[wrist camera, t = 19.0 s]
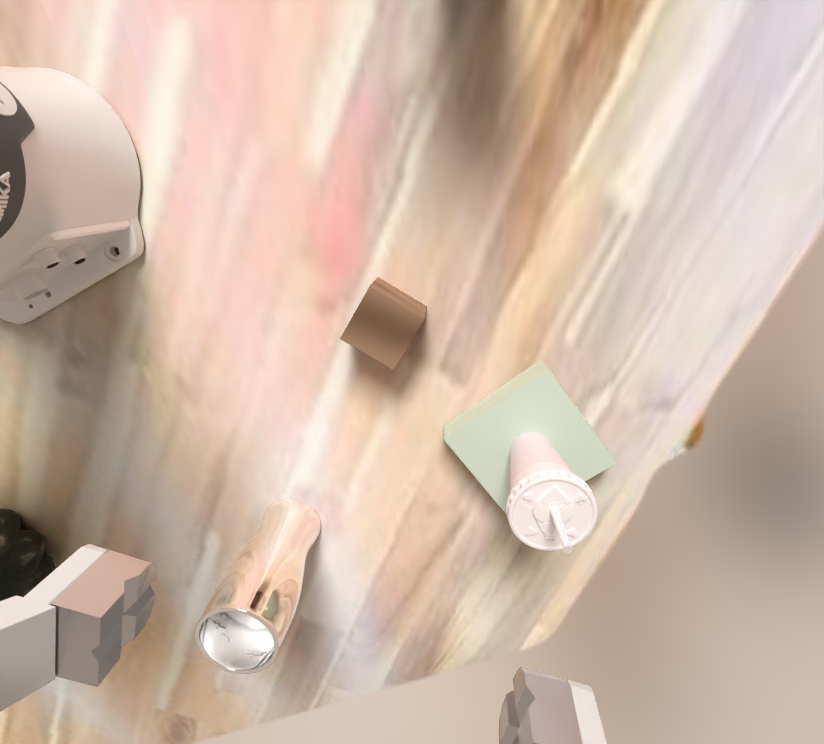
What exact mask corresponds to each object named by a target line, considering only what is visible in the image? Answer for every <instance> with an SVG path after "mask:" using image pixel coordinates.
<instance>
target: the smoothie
mask: <svg viewBox="0 0 824 744" xmlns="http://www.w3.org/2000/svg"><path fill="white" fill-rule="evenodd" d="M506 513H507V518H508V521H509V524H510V527H511V529H512V531H513V533H514V534H515V536H516V537H517V538H518V539H519V540H520V541H522V542H523V543H524V544H526V545H528V546H530V547H532V548H535V549H538V550H543V551H559V550H564V552H566V553H570V552H571V551H572V546H575V545H576V544H578V543H580V542H581V541H583V540H584V539H585V538H586V537H587V536H588V535H589V534H590V532H591V531H592V530H593V528H594V526H595V523H596V520H597V515H598V509H597V504H596V500H595V498H594V496H593V493H592V490H591V489H590V487H589V486H588V485H587V484H586V482H585V481H584V480H582V479H581V478H579V477H578V476H577V475H575V474H574V473H573V472H572V470H571V469H570V468H569V467H568V465H567V464H566V463H565V461H564V460H563V459H562V457H561V456H560V455H559V454H558V452H557V451H556V450H555V448H554V447H553V446H552V444H551V443H550V442H549V441H548V439H547V438H546V437H544V436H543V435H541V434H539V433H534V432H529V433H524V434H522V435H520V436H518V437H517V438H516V439H515V440H514V441H513V442H512V444H511V447H510V495H509V496H508V500H507V504H506Z"/></svg>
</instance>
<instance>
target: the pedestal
mask: <svg viewBox="0 0 824 744" xmlns="http://www.w3.org/2000/svg"><path fill="white" fill-rule="evenodd" d="M529 432H534V433H539V434H541V435H543V436H544V437H546V438H547V439H548V441H549V442H550V443H551V444H552V446H553V447H554V448H555V450H556V451H557V452H558V454H559V455H560V456H561V457H562V459H563V460H564V461H565V463H566V464H567V465H568V467H569V468H570V469H571V470H572V472H573V473H574V474H575V475H577V476H578V477H579V478H581V479H582V480H584V481H587V480H589V479H590V478H592V477H594V476H595V475H597V474H599V473H600V472H602V471H604V470H605V469H607V468H609V467H610V466H612V465H614V464H616V461H615V460H614V458H613V456H612V455H611V453H610V452H609V450H608V449H607V447H606V446H605V445H604V443H603V442H602V441H601V439H600V438H599V437H598V435H597V434H596V432H595V431H594V430H593V428H592V427H591V426H590V424H589V423H588V422H587V420H586V419H585V418H584V416H583V415H582V413H581V412H580V411H579V409H578V408H577V407H576V405H575V404H574V403H573V401H572V400H571V399H570V397H569V396H568V394H567V393H566V392H565V390H564V389H563V388H562V386H561V385H560V384H559V382H558V381H557V380H556V378H555V377H554V375H553V374H552V373H551V371H550V370H549V369H548V367H547V366H546V365H545V363H544V362H543V361H542V359H541V360H539V361H538V362H536V363H535V364H533V365H532V366H530V367H529V368H527V369H526V370H525V371H523V372H522V373H520V374H519V375H517V376H516V377H514V378H513V379H511V380H510V381H508V382H507V383H505V384H504V385H502V386H501V387H500V388H498V389H497V390H495V391H494V392H492V393H491V394H489V395H488V396H486V397H485V398H483V399H482V400H480V401H479V402H477V403H476V404H475V405H473V406H472V407H470V408H469V409H467V410H466V411H464V412H463V413H461V414H460V415H458V416H457V417H455V418H454V419H452V420H451V421H450V422H448V423H447V424H445V425H444V440H445V442H446V443H447V444H448V445H449V446H450V448H451V449H452V450H453V451H454V452H455V454H456V455H457V456H458V457H459V458H460V460H461V461H462V462H463V463H464V464H465V466H466V467H467V468H468V469H469V470H470V472H471V473H472V474H473V475H474V476H475V478H476V479H477V480H478V481H479V482H480V484H481V485H482V486H483V487H484V488H485V490H486V491H487V492H488V493H489V494H490V496H491V497H492V498H493V499H494V500H495V502H496V503H497V504H498V505H499V506H500V508H501V509H502V510H503V511H504V512H505V514H506V515H507V513H506V504H507V500H508V496H509V495H510V447H511V444H512V442H513V441H514V440H515V439H516V438H517V437H518V436H520V435H522V434H524V433H529Z"/></svg>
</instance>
